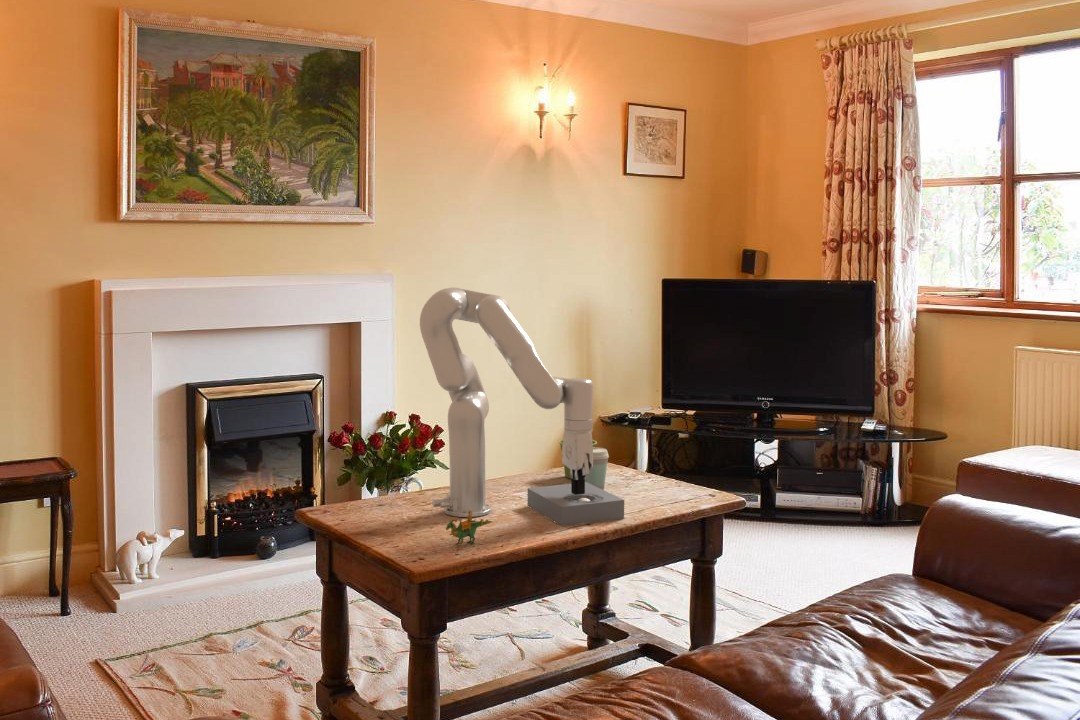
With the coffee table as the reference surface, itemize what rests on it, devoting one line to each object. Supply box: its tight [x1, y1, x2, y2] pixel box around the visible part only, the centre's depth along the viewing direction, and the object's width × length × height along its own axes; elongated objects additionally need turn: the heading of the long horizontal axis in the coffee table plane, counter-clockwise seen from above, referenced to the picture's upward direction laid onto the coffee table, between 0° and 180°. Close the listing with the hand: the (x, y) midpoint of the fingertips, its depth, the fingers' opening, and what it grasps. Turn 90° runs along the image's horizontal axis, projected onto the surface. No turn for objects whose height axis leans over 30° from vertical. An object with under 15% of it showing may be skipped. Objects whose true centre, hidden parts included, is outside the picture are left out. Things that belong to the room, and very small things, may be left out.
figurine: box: [445, 510, 492, 547], centre depth 241 cm, size 3×12×8 cm, turn 118°
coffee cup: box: [585, 446, 610, 491], centre depth 294 cm, size 8×9×12 cm
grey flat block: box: [527, 482, 625, 527], centre depth 270 cm, size 18×22×5 cm
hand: (578, 493), depth 268 cm, fingers closed
